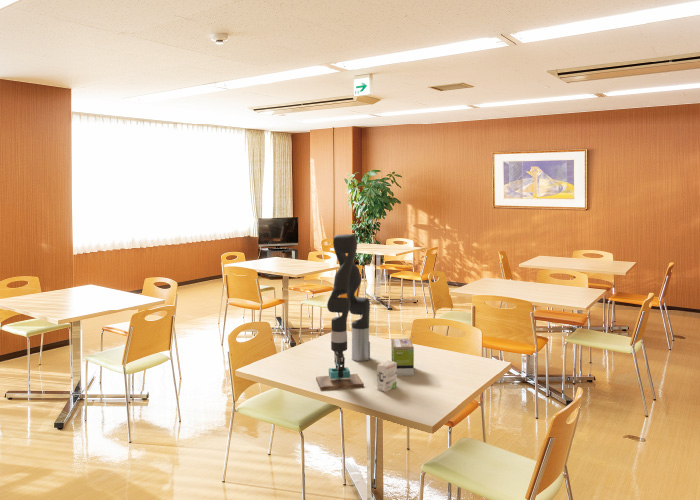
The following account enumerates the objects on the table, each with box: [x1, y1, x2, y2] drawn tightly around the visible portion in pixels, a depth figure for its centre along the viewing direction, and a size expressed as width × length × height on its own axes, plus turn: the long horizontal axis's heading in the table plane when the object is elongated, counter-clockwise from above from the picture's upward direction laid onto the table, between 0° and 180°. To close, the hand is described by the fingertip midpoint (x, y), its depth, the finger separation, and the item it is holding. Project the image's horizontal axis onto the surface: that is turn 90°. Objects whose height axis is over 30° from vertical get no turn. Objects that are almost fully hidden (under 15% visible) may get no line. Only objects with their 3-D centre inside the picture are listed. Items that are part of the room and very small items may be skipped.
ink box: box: [376, 360, 398, 392], centre depth 248 cm, size 9×5×12 cm, turn 137°
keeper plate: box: [315, 367, 365, 391], centre depth 254 cm, size 20×14×8 cm
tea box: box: [390, 338, 415, 377], centre depth 272 cm, size 15×10×15 cm
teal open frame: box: [328, 366, 351, 379], centre depth 254 cm, size 9×6×3 cm, turn 102°
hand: (339, 374), depth 255 cm, fingers closed on teal open frame, 5 cm apart
